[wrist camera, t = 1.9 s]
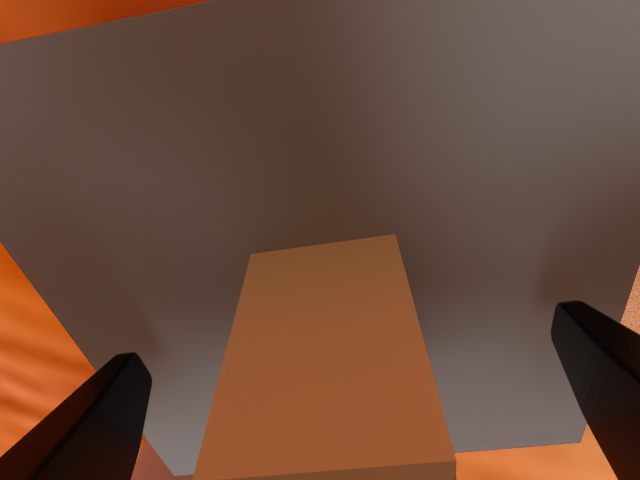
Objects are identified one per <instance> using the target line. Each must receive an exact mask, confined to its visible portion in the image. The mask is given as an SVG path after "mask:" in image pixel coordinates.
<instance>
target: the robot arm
mask: <svg viewBox="0 0 640 480" xmlns="http://www.w3.org/2000/svg"><path fill="white" fill-rule="evenodd" d="M551 339H552V342H553V345H554V347H555V350H556V352H557V354H558V357H559V359H560V362H561V364H562V367H563V369H564V371H565V374H566V376H567V379H568V381H569V383H570V386H571V388H572V391H573V393H574V396H575V398H576V400H577V403H578V405H579V407H580V410H581V412H582V414H583V416H584V418H585V420H586V422H587V424H588V425H589V427H590V429H591V431H592V433H593V435H594V436H595V438H596V440H597V442H598V444H599V446H600V447H601V449H602V451H603V453H604V455H605V457H606V458H607V460H608V462H609V464H610V466H611V468H612V469H613V471H614V473H615V475H616V477H617V479H618V480H640V335H639V334H638V333H636V332H634V331H633V330H631V329H629V328H627V327H626V326H624V325H622V324H621V323H619V322H617V321H615V320H614V319H612V318H610V317H609V316H607V315H605V314H603V313H602V312H600V311H598V310H597V309H595V308H593V307H591V306H590V305H588V304H586V303H584V302H582V301H580V300H573V301H565V302H559V303H558V304H557V305H556V307H555V311H554V316H553V321H552V326H551ZM151 388H152V377H151V374H150V372H149V371H148V369H147V367H146V366H145V364H144V363H143V361H142V359H141V358H140V356H139V355H138V354H137V353H135V352H129V353H120V354H117V355H115V356H114V357H113V358H111V359H110V360H109V361H108V362H107V363H106V364H105V365H104V366H102V367H101V368H100V369H99V370H98V371H97V372H96V373H95V374H93V375H92V376H91V377H90V378H89V379H88V380H87V381H86V382H84V383H83V384H82V385H81V386H80V387H79V388H78V389H77V390H75V391H74V392H73V393H72V394H71V395H70V396H69V397H68V398H66V399H65V400H64V401H63V402H62V403H61V404H60V405H59V406H58V407H56V408H55V409H54V410H53V411H52V412H51V413H50V414H49V415H47V416H46V417H45V418H44V419H43V420H42V421H41V422H40V423H38V424H37V425H36V426H35V427H34V428H33V429H32V430H31V431H29V432H28V433H27V434H26V435H25V436H24V437H23V438H22V439H20V440H19V441H18V442H17V443H16V444H15V445H14V446H12V447H11V448H10V449H9V450H8V451H7V452H6V453H5V454H3V455H2V456H1V457H0V480H131V477H132V474H133V471H134V467H135V464H136V460H137V456H138V453H139V449H140V444H141V440H142V434H143V429H144V424H145V419H146V414H147V409H148V404H149V398H150V393H151Z"/></svg>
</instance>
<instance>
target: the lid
mask: <svg viewBox="0 0 640 480" xmlns="http://www.w3.org/2000/svg"><path fill="white" fill-rule="evenodd" d="M0 242H1V243H2V244H3V246H4V247H5V249H6V250H7V251H8V253H9V254H10V255H11V257H12V258H13V259H14V261H15V262H16V263H17V265H18V266H19V267H20V269H21V270H22V271H23V273H24V274H25V276H26V277H27V278H28V280H29V281H30V282H31V284H32V285H33V286H34V288H35V289H36V290H37V292H38V293H39V294H40V296H41V297H42V298H43V300H44V301H45V302H46V304H47V305H48V307H49V308H50V309H51V311H52V312H53V313H54V315H55V316H56V317H57V319H58V320H59V321H60V323H61V324H62V325H63V327H64V328H65V329H66V331H67V332H68V334H69V335H70V336H71V338H72V339H73V340H74V342H75V343H76V344H77V346H78V347H79V348H80V350H81V351H82V352H83V354H84V355H85V356H86V358H87V359H88V361H89V362H90V363H91V365H92V366H93V367H94V369H95V370H96V371H98V370H99V369H100V368H101V367H102V366H104V365H105V364H106V363H107V362H108V361H109V360H110V359H111V358H113V357H114V356H115V355H117V354H120V353H129V352H135V353H137V354H138V355H139V356H140V358H141V359H142V361H143V363H144V364H145V366H146V367H147V369H148V371H149V372H150V374H151V377H152V388H151V393H150V398H149V404H148V409H147V414H146V419H145V424H144V429H143V435H144V436H145V437H146V439H147V440H148V442H149V443H150V444H151V446H152V447H153V448H154V450H155V451H156V452H157V454H158V455H159V456H160V458H161V459H162V460H163V462H164V463H165V464H166V466H167V467H168V469H169V470H170V471H171V473H172V474H173V475H174V476H181V475H193V474H194V476H193V480H456V457H455V454H454V453H461V452H474V451H486V450H498V449H510V448H522V447H535V446H547V445H559V444H571V443H580V442H581V439H582V436H583V433H584V430H585V427H586V424H587V422H586V420H585V418H584V416H583V414H582V412H581V410H580V407H579V405H578V403H577V400H576V398H575V396H574V393H573V391H572V388H571V386H570V383H569V381H568V379H567V376H566V374H565V371H564V369H563V367H562V364H561V362H560V359H559V357H558V354H557V352H556V350H555V347H554V345H553V342H552V339H551V326H552V321H553V316H554V311H555V307H556V305H557V304H558V303H559V302H565V301H573V300H580V301H582V302H584V303H586V304H588V305H590V306H591V307H593V308H595V309H597V310H598V311H600V312H602V313H603V314H605V315H607V316H609V317H610V318H612V319H614V320H615V321H617V322H619V323H620V322H621V319H622V316H623V313H624V310H625V307H626V304H627V301H628V298H629V295H630V292H631V289H632V286H633V283H634V280H635V277H636V274H637V271H638V268H639V265H640V0H210V1H205V2H200V3H195V4H190V5H186V6H181V7H176V8H171V9H166V10H161V11H157V12H152V13H147V14H142V15H137V16H132V17H128V18H123V19H118V20H113V21H108V22H104V23H99V24H94V25H89V26H84V27H79V28H75V29H70V30H65V31H60V32H55V33H51V34H46V35H41V36H36V37H31V38H26V39H22V40H17V41H12V42H7V43H2V44H0Z"/></svg>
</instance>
